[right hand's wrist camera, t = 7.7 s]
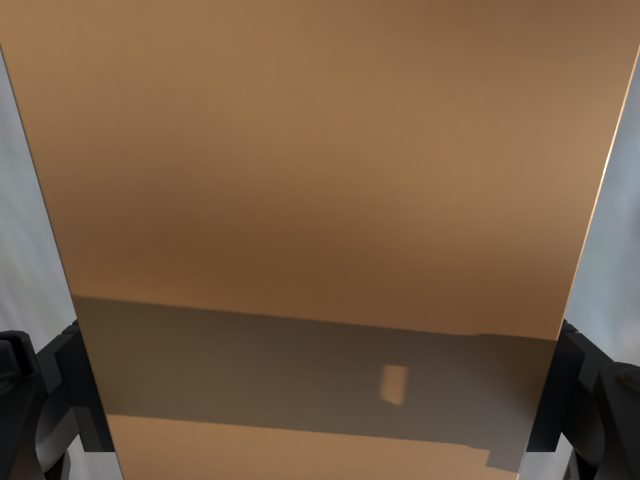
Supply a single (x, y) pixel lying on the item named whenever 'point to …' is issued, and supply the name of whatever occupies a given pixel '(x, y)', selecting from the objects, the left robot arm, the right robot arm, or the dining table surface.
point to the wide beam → (320, 219)
